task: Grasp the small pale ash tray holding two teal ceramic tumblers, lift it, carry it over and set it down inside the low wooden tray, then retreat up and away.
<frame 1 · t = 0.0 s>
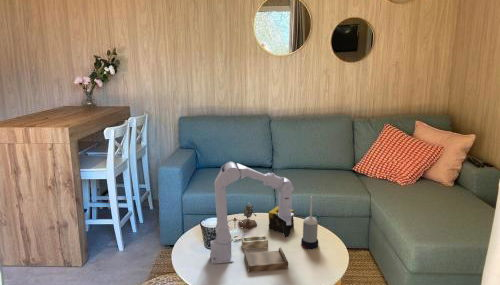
hand: (284, 233, 172), 10 cm above the table, tool pointing down, fingers open, 7 cm apart
wooden tray: (265, 262, 166), on the table
candle: (281, 228, 199), on the table
tumbler tray: (254, 246, 181), on the table
humidifier: (309, 245, 181), on the table
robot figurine: (247, 225, 203), on the table
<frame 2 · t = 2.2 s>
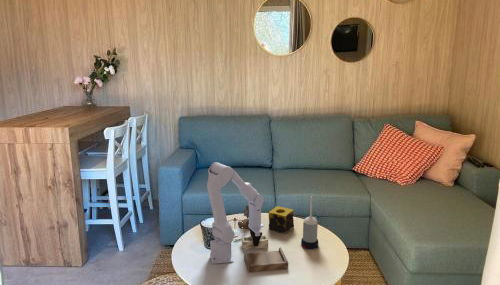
hand: (254, 243, 180), 1 cm above the table, tool pointing down, fingers closed on tumbler tray, 5 cm apart
tumbler tray: (254, 246, 181), on the table, touching gripper
everything else where it was.
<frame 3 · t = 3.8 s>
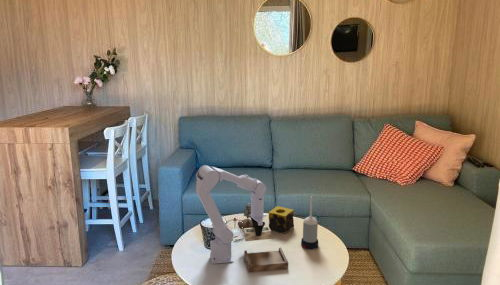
hand: (257, 233, 175), 8 cm above the table, tool pointing down, fingers closed on tumbler tray, 5 cm apart
tumbler tray: (257, 237, 176), point 6 cm above the table, touching gripper
everything else where it was.
when the fingers open (4 cm above the table, at t = 5.9 s): tumbler tray stays where it is, resting on wooden tray.
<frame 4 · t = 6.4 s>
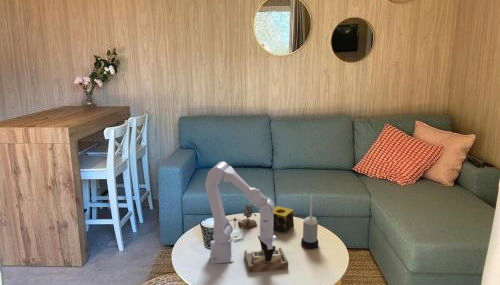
hand: (266, 256, 164), 4 cm above the table, tool pointing down, fingers open, 7 cm apart
tumbler tray: (266, 261, 164), point 1 cm above the table, touching wooden tray
everything else where it was.
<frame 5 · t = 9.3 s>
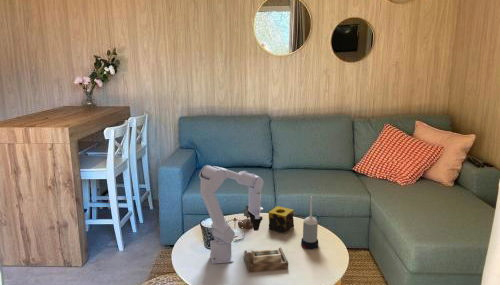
hand: (254, 226, 180), 9 cm above the table, tool pointing down, fingers open, 7 cm apart
nothing on the table moved.
at the end: tumbler tray 0.5 cm from the target spot on the wooden tray, point 1.5 cm above the wooden tray's base; tumbler tray tilted 0°; the gripper is holding nothing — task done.
